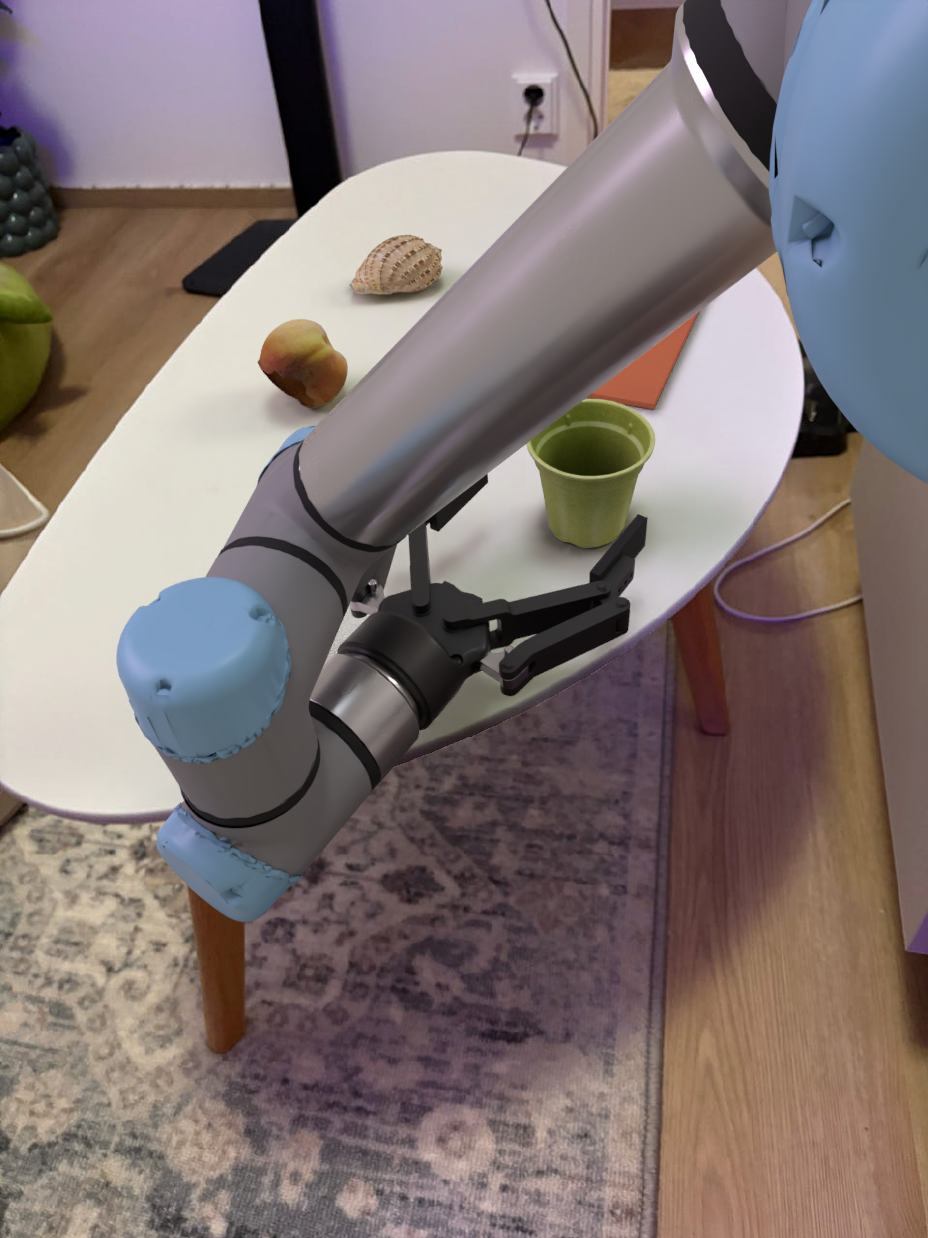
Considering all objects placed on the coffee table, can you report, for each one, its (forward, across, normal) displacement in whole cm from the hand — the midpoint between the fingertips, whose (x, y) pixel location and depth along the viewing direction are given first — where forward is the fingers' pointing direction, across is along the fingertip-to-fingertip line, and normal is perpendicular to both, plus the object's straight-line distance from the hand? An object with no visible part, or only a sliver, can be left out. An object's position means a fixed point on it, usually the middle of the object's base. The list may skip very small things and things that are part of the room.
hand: (559, 496), depth 69 cm
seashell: (+26, -37, -6) cm, 45 cm away
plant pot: (+4, 0, -6) cm, 7 cm away
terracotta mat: (+28, -14, -6) cm, 32 cm away
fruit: (+5, -31, -6) cm, 32 cm away
